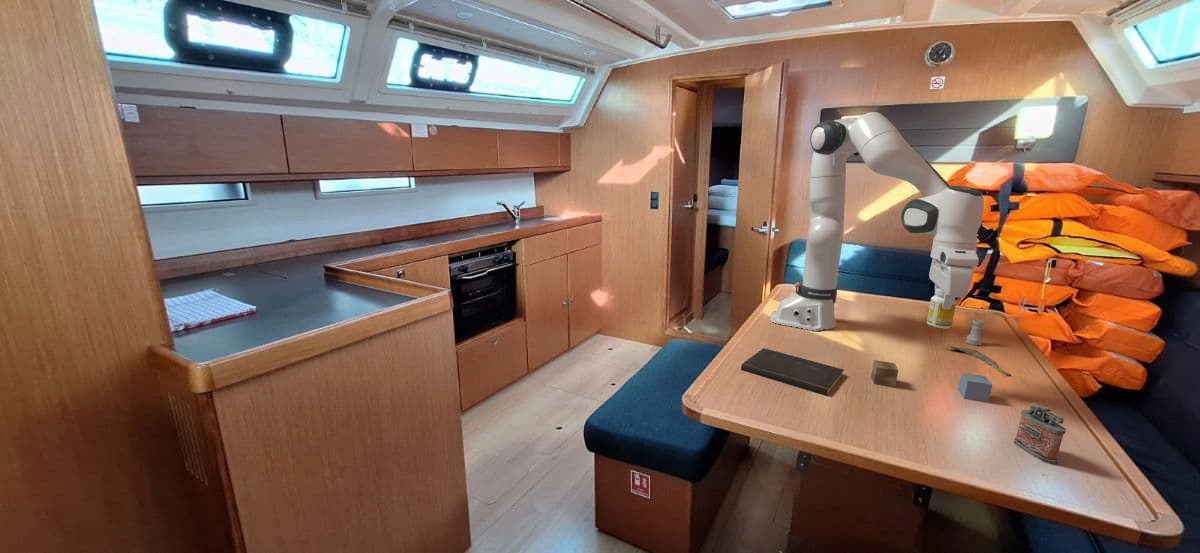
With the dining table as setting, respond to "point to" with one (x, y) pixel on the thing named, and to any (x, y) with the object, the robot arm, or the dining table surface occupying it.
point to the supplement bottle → (940, 311)
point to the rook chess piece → (975, 333)
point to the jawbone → (980, 356)
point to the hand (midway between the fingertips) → (942, 304)
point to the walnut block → (884, 373)
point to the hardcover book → (793, 371)
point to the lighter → (1040, 433)
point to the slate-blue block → (975, 387)
